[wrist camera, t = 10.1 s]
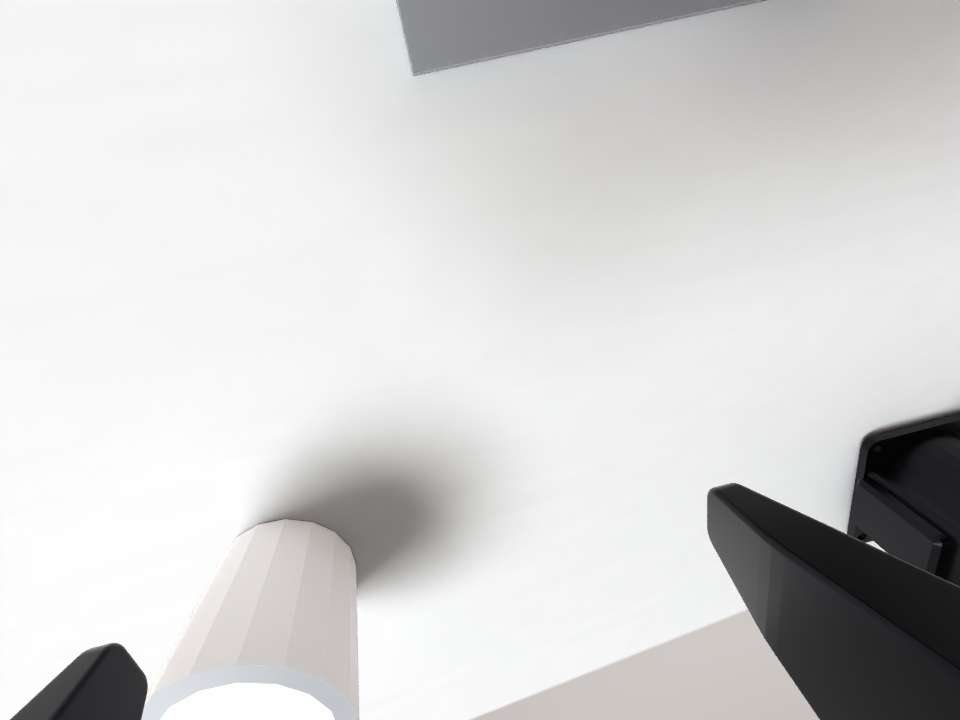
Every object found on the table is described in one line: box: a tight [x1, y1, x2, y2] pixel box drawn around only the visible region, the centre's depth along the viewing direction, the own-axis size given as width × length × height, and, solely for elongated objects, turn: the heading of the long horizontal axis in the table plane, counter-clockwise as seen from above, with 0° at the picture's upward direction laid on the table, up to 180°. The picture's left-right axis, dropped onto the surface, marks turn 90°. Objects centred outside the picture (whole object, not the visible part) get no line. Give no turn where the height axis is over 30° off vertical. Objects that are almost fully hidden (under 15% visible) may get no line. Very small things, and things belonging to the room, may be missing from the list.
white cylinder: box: [141, 519, 359, 720], centre depth 19 cm, size 7×7×7 cm
